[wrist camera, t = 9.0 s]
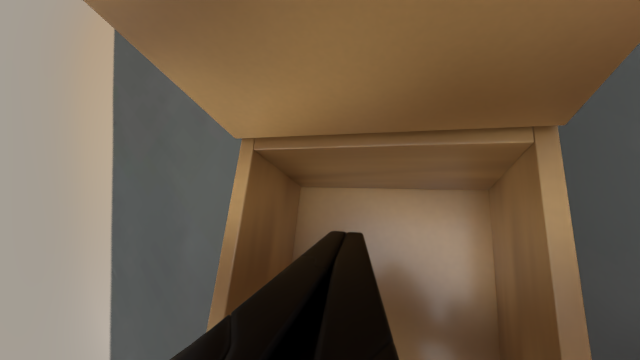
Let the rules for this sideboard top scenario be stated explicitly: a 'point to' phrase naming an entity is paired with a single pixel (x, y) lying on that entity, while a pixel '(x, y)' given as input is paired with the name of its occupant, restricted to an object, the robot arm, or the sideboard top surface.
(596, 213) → the sideboard top surface
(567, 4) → the lid
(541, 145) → the chest
